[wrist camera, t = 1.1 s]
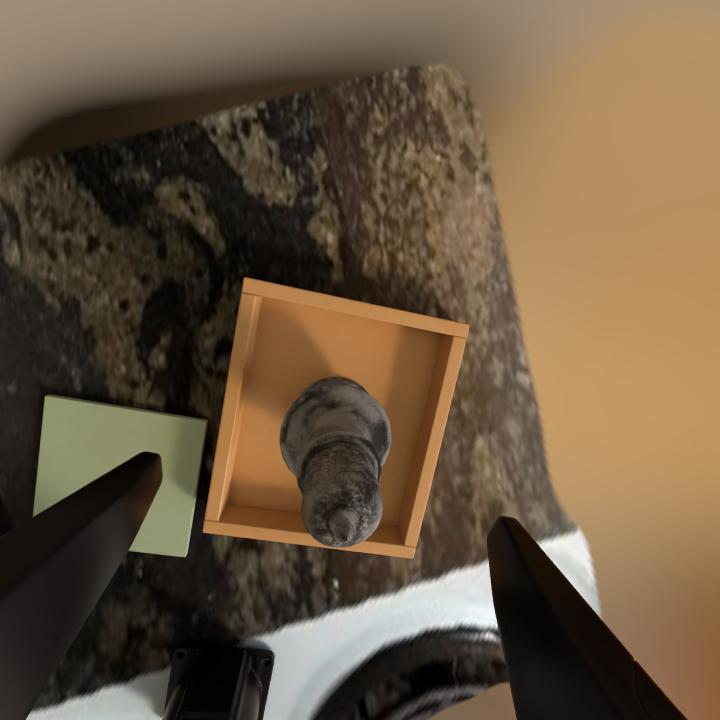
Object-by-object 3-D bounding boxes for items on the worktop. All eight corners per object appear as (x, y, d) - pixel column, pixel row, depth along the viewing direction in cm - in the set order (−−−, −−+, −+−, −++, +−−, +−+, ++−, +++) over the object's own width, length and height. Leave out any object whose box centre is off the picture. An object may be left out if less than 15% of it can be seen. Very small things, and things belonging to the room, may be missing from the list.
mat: (187, 553, 23) (185, 557, 23) (35, 535, 22) (30, 539, 22) (208, 419, 22) (206, 421, 22) (49, 393, 21) (44, 395, 21)
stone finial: (267, 404, 22) (202, 517, 10) (350, 354, 22) (380, 408, 10) (319, 480, 23) (314, 663, 11) (398, 431, 23) (475, 562, 11)
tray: (404, 535, 25) (413, 559, 22) (214, 509, 23) (201, 533, 21) (455, 322, 23) (470, 324, 21) (252, 280, 21) (243, 276, 19)
